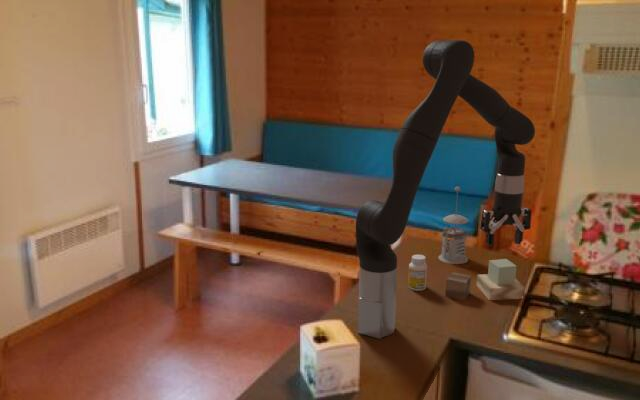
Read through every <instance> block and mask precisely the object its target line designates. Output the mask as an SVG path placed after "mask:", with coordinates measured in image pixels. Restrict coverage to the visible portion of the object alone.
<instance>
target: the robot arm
mask: <svg viewBox="0 0 640 400" xmlns="http://www.w3.org/2000/svg"><path fill="white" fill-rule="evenodd" d="M422 64H423V65H422V66H423V67H424V70H425V72H426V73H427V75H429V76H430V77H431V78H433V79H434V80H435V82H434V84H433V86H432V88H431V90H430V92H429V93H428V95H427V96H426V97H425V98H424V99H423V101H421V102H420V103H419V105H418V106H417V107H415V109H413V111H412V112H411V113H410V114H409V115H408V116H407V117H406V119H405V120H404V122H403V124H402V126H401V127H400V130H399V132H398V134H397V137H396V140H395V142H394V145H393V149H392V172H393V173H392V175H393V176H392V184H391V188H390V190H389V193H388V194H387V199H386V200H385V202H382V201H381V200H374V199H372V200H368V201H365V202H364V203H363V204H362V205H361V206H360V208H359V209H358V211H357V215H356V220H355V246H356V247H355V248H356V254H357V257H358V260H359V268H358V269H359V274H358V275H359V277H358V278H359V279H358V280H359V281H358V309H357V310H358V311H357V312H358V313H357V314H358V315H357V317H358V318H357V319H358V320H357V333H358V334H360V335H366V336H369V337H373V338H376V339H382V338H384V337H387V336H390V335H391V334H393V333H394V332H395V328H396V326H395V325H396V305H397V304H396V302H397V301H396V299H397V278H398V277H397V273H398V271H397V270H398V257H397V254H396V253H395V251H394V250H393V249H392V247H391V246H392V245H393V244H395V243H396V242H397V241H399V239H400V238H401V237H402V235H403V234H404V231H405V229H406V226H407V224H408V220H409V219H410V214H411V212H412V211H411V210H412V208H413V205H414V202H415V199H416V196H417V195H416V194H417V192H418V189H419V187H420V184H421V182H422V179H423V177H424V174H425V171H426V169H427V167H428V164H429V162H430V160H431V157H432V155H433V154H434V151H435V149H436V146H437V143H438V141H439V139H440V137H441V134H442V131H443V128H444V127H445V124H446V122H447V120H448V118H449V115H450V112H451V110H452V108H453V106H454V104H455V103H456V100H457V99H458V96H459V98H461V99H462V100H463V101H465V102H466V103H467V105H469V106H470V107H471V108H472V109H474V111H475V112H477V114H478V115H480V117H481V118H483V120H485V122H487V124H489V125H490V126H492V127H494V142H495V147H496V153H497V157H498V158H497V159H498V162H497V171H496V172H497V173H496V178H495V185H494V194H493V195H494V196H493V209H492V210H486V209H482V211H481V213H482V214H481V220H480V230H481V231H483V232H484V233H486V234H485V235H486V236H485V243H486V244H487V246H489V247H494V240H495V232H496V231H497V229H499V228H500V227H501V226H507V225H508V226H512V225H513V226H514V227H515V232H514V244H516V245H521V243H522V242H523V237H524V232H525V231H526V230H530V229H531V225H532V210H531V209H530V208H528V207H525V206H524V207H523V206H522V205H523V196H524V187H525V186H524V185H525V169H526V157H525V155H524V153H522V152H520V151H519V150H518V149H517V146H516V145H519V146H524V145H528V144H529V143H531V142H532V141H533V140H534V137H535V134H536V130H535V125H534V122H532V120H531V119H530V118H529V117H528V116H526V115H525V114H524V113H522V112H520V111H519V110H518V109H516V108H514V107H513V106H511V105H510V103H508V101H507V100H506V98H504V97H503V96H502V94H500V93H499V92H498V91H497V90H496V89H494V88H493V87H492V86H490V85H488V84H487V83H485V82H483V81H482V80H480V79H478V78H476V77H475V76H474V75H472V74H471V72H472V70H473V67H474V64H475V50H474V47H473V45H472V44H471V43H470V42H468V41H466V40H462V39H461V40H459V39H448V40H447V39H446V40H445V39H444V40H443V39H442V40H436V41H433V42H430V44H428V45H427V46H426V48H425V49H424V51H423V54H422ZM521 215H522V216H521ZM492 216H493V217H492ZM520 216H521V217H522V219H521V221H522V222H521V221H520V219H519V218H520Z"/></svg>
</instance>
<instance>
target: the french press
mask: <svg viewBox="0 0 640 400" xmlns="http://www.w3.org/2000/svg"><path fill="white" fill-rule="evenodd" d="M454 191H456V198H458V195H459V192H458V191H461V187H460V186H455V187H454ZM457 210H458V201H456V204H455V214H454V213H453V214H449V215H447V216H444V218H443V217H442V220H443V222H444V223H446V224H448V225H449V224H450V225H454V227H452V226H451V227H448V226H447V225H446V226H445V227H444V228H443V231H442V233H441V254H440V255H438V260H440V261H441V262H443V263H446V264H451V265H461V264H462V265H463V264H465V263H467V262H469V259H468V257H467V256H466V246H467V244H466V243H467V238H468V237H467V235H466V234H467V232H466V230H464V229H463V228H457V227H456V225H457V226H458V225H466V224H467V223H468V222H469V219H468V218H467V217H465V216H463V215H460V214H457Z"/></svg>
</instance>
